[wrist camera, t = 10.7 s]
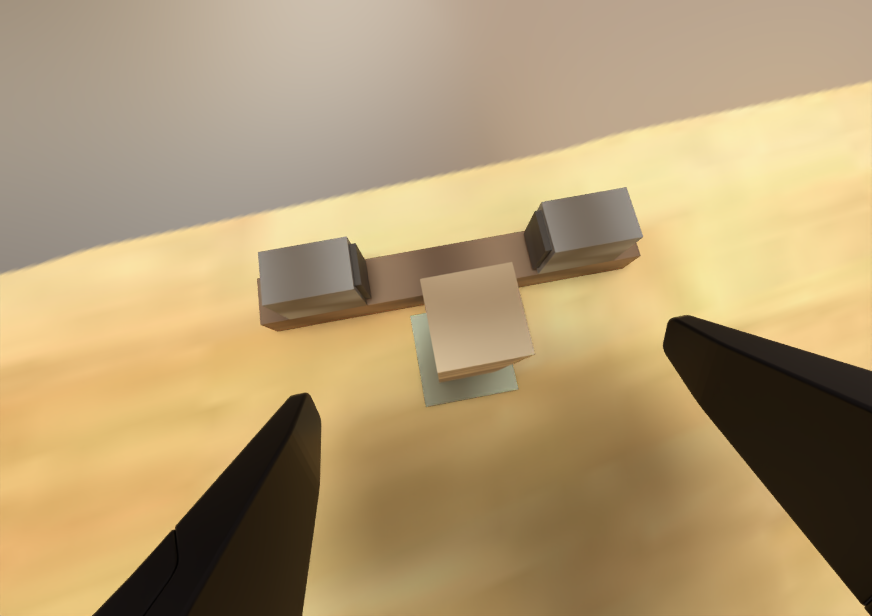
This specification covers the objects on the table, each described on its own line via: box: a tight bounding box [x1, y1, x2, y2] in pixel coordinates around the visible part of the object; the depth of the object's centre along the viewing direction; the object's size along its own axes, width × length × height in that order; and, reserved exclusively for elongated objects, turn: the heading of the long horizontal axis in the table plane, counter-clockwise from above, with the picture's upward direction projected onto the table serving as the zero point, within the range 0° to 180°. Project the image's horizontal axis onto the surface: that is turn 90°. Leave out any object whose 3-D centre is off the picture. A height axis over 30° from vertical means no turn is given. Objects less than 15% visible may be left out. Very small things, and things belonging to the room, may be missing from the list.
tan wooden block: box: [420, 262, 535, 383], centre depth 16 cm, size 3×3×9 cm
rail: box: [257, 187, 643, 407], centre depth 18 cm, size 20×8×5 cm, turn 101°
